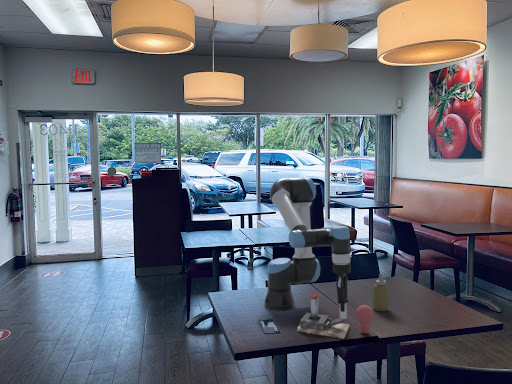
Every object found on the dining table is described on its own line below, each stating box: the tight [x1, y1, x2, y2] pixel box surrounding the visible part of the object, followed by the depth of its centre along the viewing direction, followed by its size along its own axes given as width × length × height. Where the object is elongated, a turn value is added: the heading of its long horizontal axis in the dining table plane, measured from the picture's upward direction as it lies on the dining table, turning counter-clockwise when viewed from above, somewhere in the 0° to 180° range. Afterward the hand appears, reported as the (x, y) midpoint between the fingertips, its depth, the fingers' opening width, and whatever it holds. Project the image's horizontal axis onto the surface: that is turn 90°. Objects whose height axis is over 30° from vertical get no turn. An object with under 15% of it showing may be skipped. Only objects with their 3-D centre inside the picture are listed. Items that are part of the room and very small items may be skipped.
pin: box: [310, 292, 319, 321], centre depth 180 cm, size 3×3×14 cm
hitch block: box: [296, 312, 350, 340], centre depth 178 cm, size 20×12×4 cm, turn 67°
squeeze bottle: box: [371, 272, 390, 312], centre depth 201 cm, size 8×8×18 cm
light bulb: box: [355, 304, 375, 334], centre depth 174 cm, size 7×7×12 cm
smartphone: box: [257, 317, 282, 334], centre depth 182 cm, size 7×1×15 cm
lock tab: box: [327, 317, 347, 327], centre depth 176 cm, size 9×5×1 cm, turn 67°
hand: (343, 317), depth 174 cm, fingers closed
